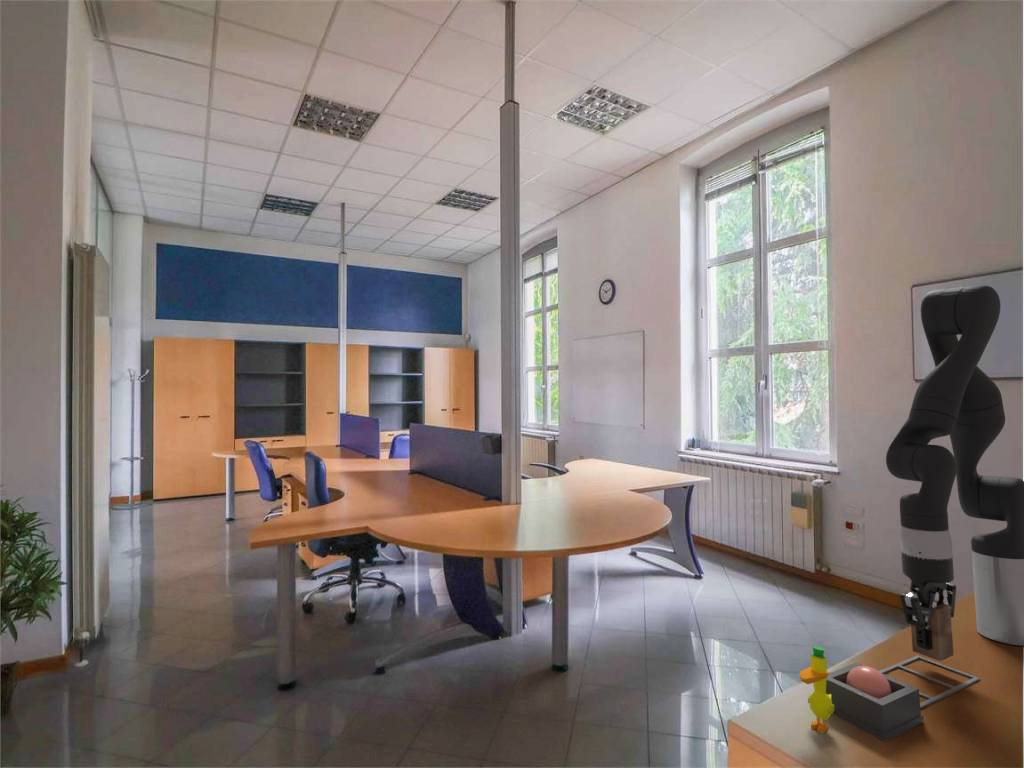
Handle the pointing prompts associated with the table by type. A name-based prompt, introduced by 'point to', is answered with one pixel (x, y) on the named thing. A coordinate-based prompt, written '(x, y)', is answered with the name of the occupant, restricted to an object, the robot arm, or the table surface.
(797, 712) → the table surface
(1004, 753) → the table surface
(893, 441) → the robot arm
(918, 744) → the table surface
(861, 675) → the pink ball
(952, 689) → the frame
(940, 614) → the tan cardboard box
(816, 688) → the toy figure
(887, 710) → the housing
